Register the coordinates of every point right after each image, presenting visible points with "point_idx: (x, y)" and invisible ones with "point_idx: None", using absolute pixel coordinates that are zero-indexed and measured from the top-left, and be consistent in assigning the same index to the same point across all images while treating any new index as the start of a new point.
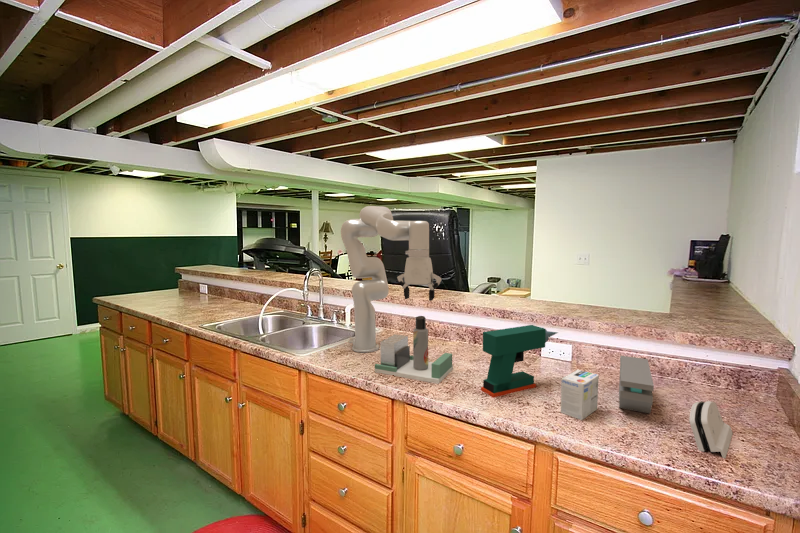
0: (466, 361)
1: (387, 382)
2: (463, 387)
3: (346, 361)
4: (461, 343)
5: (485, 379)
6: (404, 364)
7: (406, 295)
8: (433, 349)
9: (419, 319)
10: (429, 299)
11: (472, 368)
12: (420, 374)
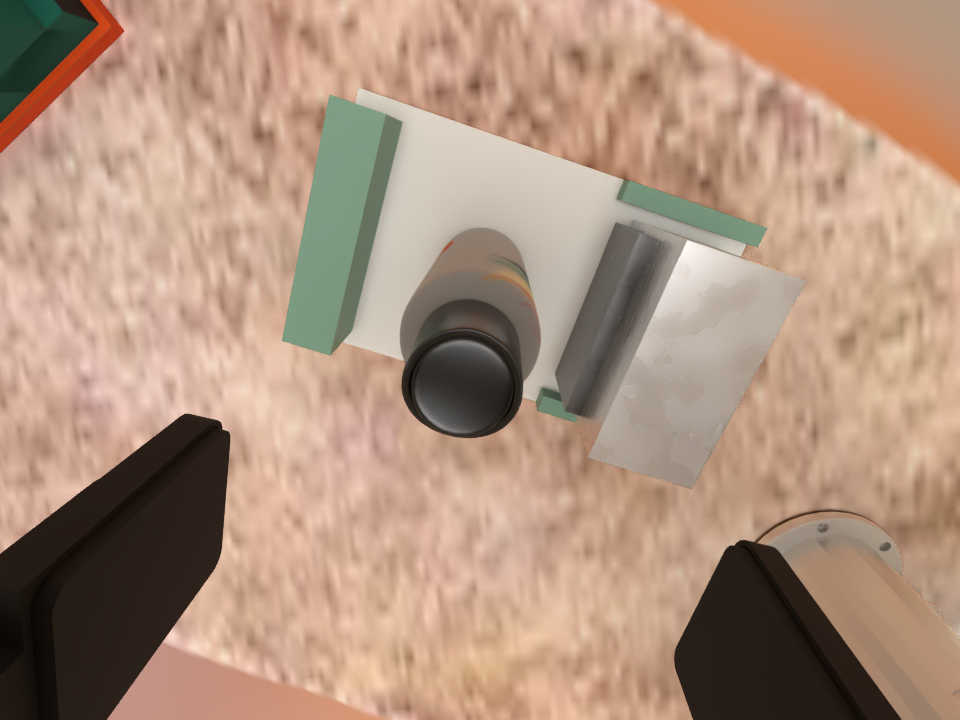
0: (262, 442)
1: (659, 70)
2: (222, 58)
3: (921, 375)
4: (320, 674)
5: (51, 16)
6: (580, 310)
7: (770, 596)
8: (448, 588)
9: (469, 329)
10: (205, 426)
11: (218, 348)
12: (472, 162)
